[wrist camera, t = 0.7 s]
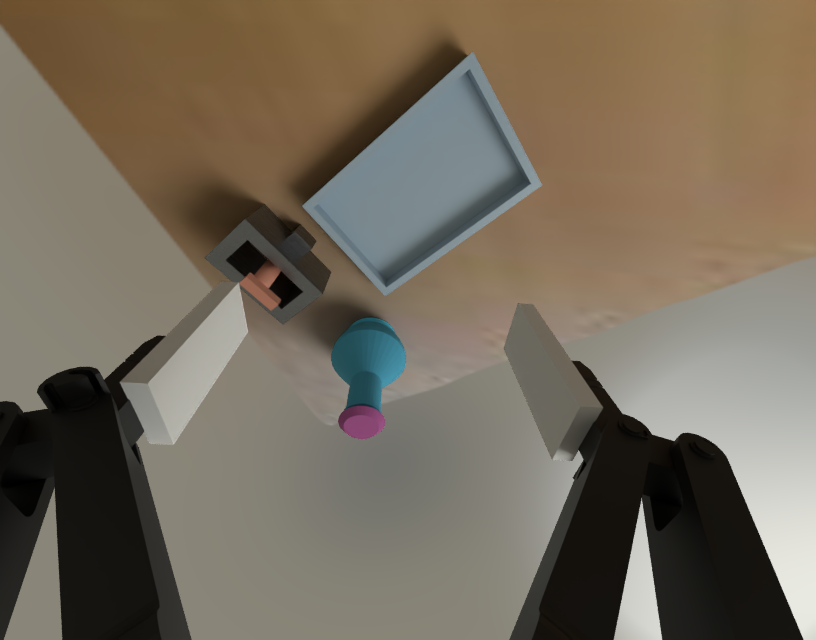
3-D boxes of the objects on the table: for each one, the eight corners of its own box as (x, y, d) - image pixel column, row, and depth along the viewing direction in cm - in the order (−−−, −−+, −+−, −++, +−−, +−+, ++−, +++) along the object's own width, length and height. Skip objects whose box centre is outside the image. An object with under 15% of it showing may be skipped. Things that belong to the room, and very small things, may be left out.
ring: (228, 239, 38) (204, 257, 33) (273, 195, 35) (254, 209, 31) (295, 300, 42) (282, 324, 38) (339, 265, 40) (332, 286, 35)
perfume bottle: (332, 357, 47) (308, 450, 35) (342, 302, 42) (319, 385, 30) (396, 369, 49) (395, 462, 36) (413, 317, 44) (419, 402, 31)
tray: (307, 200, 36) (302, 206, 34) (467, 55, 30) (472, 51, 27) (385, 286, 41) (385, 296, 39) (533, 180, 35) (542, 185, 33)
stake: (266, 251, 39) (236, 285, 31) (277, 242, 38) (248, 274, 31) (291, 275, 40) (268, 312, 33) (302, 266, 40) (280, 302, 33)
